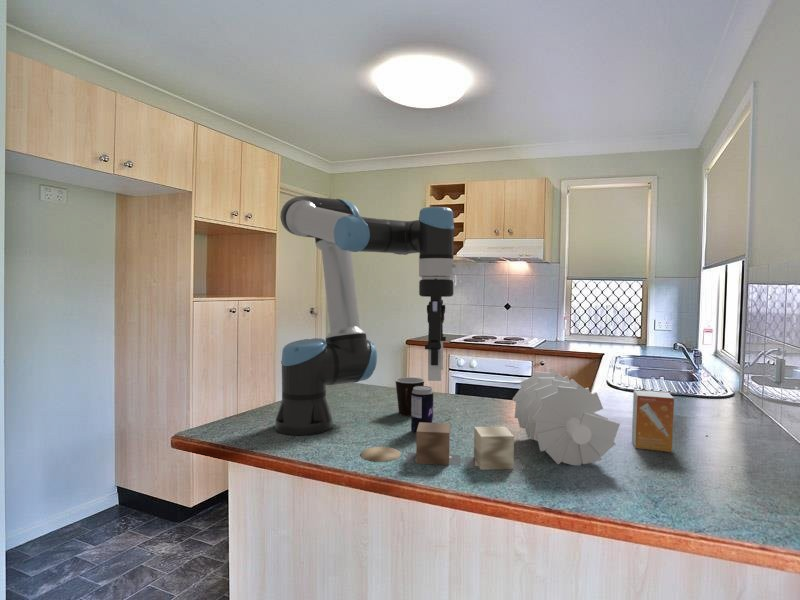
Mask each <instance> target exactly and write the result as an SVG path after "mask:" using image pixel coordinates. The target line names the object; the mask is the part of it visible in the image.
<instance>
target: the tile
mask: <svg viewBox="0 0 800 600" xmlns="http://www.w3.org/2000/svg"><path fill="white" fill-rule="evenodd" d="M461 456H462V455H461V454H450V455H449V465H448V466H459V467H460V466H461V461H462V460H461ZM405 457H406V458H405V461H404V463H405V464H407V463H408V464H409V463H410V464H417V463H416V452H409V451H408V452H407V455H406V456H405Z"/></svg>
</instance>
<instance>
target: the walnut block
mask: <svg viewBox="0 0 800 600" xmlns="http://www.w3.org/2000/svg"><path fill="white" fill-rule="evenodd" d="M415 437H416V439H415V440H416V442H415V443H416V446H415V447H416V448H415V449H416V450H415V453H416V463H415V464H419V465H421V464H422V465H423V464H424V465H436V466H437V465H438V466H439V465H441V466H450V465H449V455H451V452H450V451H451V449H450V447H451V446H450V445H451V444H450V443H451V438H450V437H451V423H448V422H447V423H445V422H444V423H443V422H433V423H425V422H419V425H418V428H417V434H416V436H415Z"/></svg>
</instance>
